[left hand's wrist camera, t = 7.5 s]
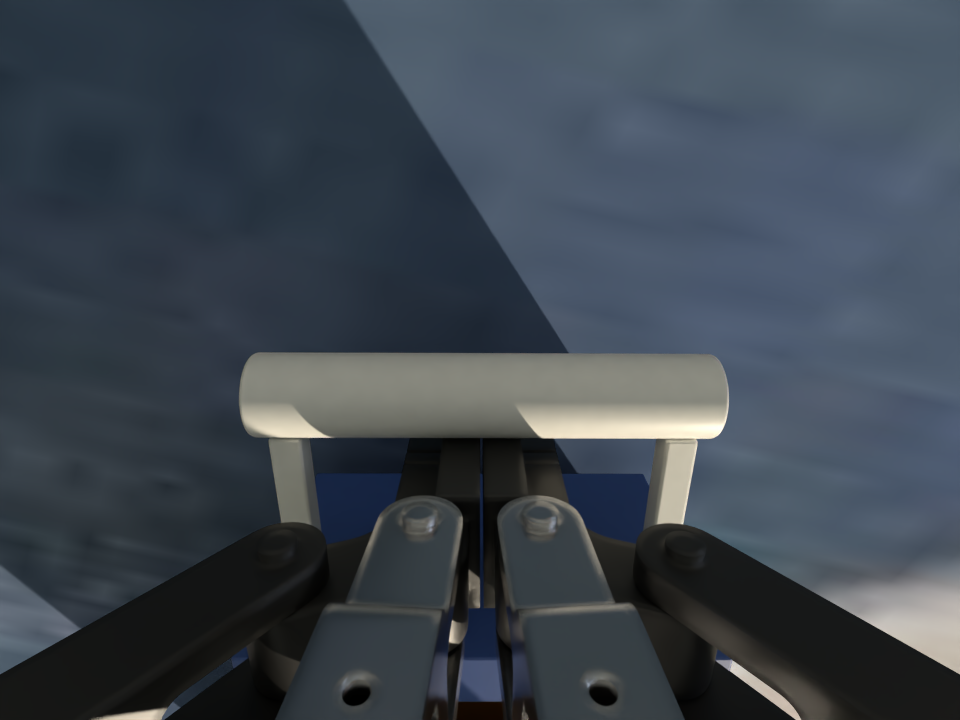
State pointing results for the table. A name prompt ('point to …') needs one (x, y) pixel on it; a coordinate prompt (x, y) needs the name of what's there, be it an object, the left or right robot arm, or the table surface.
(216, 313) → the table surface
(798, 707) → the left robot arm
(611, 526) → the drawer
